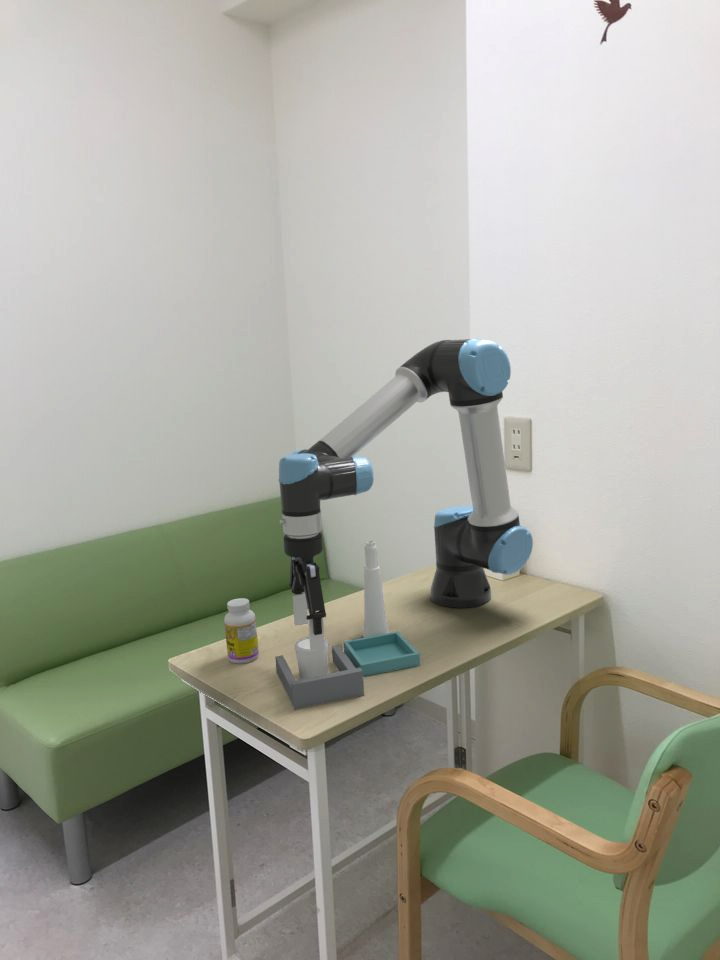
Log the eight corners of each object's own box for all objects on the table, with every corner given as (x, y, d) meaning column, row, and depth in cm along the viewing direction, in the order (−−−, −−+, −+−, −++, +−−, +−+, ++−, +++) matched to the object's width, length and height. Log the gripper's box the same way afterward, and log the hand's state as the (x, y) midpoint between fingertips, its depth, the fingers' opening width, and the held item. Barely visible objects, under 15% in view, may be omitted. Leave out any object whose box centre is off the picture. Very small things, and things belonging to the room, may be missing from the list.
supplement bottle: (225, 655, 168) (219, 599, 165) (255, 649, 170) (249, 594, 167) (231, 667, 161) (225, 610, 159) (262, 660, 164) (256, 604, 161)
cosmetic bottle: (371, 642, 169) (365, 547, 165) (357, 634, 174) (351, 541, 170) (394, 635, 172) (389, 542, 168) (380, 627, 177) (374, 536, 173)
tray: (398, 641, 169) (398, 631, 168) (420, 664, 157) (419, 653, 156) (343, 652, 165) (343, 641, 165) (361, 676, 153) (361, 665, 153)
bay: (276, 672, 158) (274, 649, 157) (339, 660, 162) (338, 637, 161) (294, 709, 142) (292, 684, 141) (364, 695, 146) (362, 670, 145)
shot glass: (305, 666, 160) (303, 634, 158) (335, 669, 157) (333, 637, 156) (291, 681, 154) (288, 648, 152) (322, 685, 151) (319, 652, 150)
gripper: (271, 521, 160) (278, 617, 164) (298, 552, 136) (305, 663, 141) (306, 517, 162) (312, 612, 166) (338, 547, 139) (344, 656, 143)
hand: (309, 636), depth 153 cm, fingers open, 13 cm apart
